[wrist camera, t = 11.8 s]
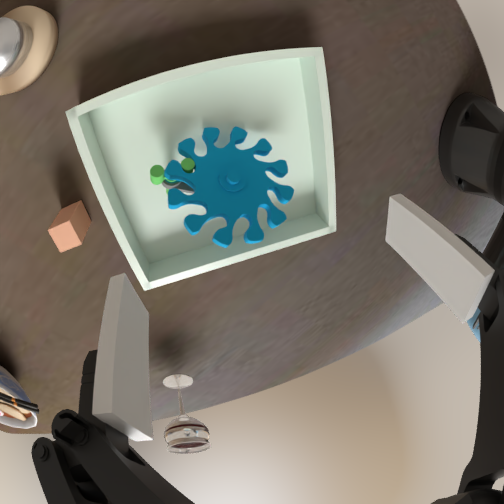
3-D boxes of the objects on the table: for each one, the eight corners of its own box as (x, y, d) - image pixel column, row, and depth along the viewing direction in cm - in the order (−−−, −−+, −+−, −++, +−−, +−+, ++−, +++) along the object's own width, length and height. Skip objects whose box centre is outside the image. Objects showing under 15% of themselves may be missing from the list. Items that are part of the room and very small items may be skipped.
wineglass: (149, 383, 41) (156, 450, 31) (175, 366, 39) (187, 438, 30) (179, 394, 45) (190, 455, 35) (206, 379, 43) (221, 444, 34)
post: (81, 200, 22) (69, 220, 19) (91, 221, 24) (81, 244, 21) (61, 208, 22) (47, 230, 19) (71, 229, 23) (60, 252, 20)
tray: (303, 49, 20) (322, 47, 17) (320, 214, 30) (336, 231, 28) (79, 106, 18) (65, 111, 15) (145, 268, 28) (144, 290, 26)
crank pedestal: (52, -7, 10) (44, -12, 9) (65, 65, 15) (57, 64, 14) (-17, 40, 9) (-28, 40, 8) (-4, 108, 14) (-15, 112, 13)
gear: (299, 139, 22) (293, 255, 20) (274, 170, 28) (265, 267, 26) (169, 107, 20) (134, 225, 17) (166, 146, 25) (141, 246, 23)
